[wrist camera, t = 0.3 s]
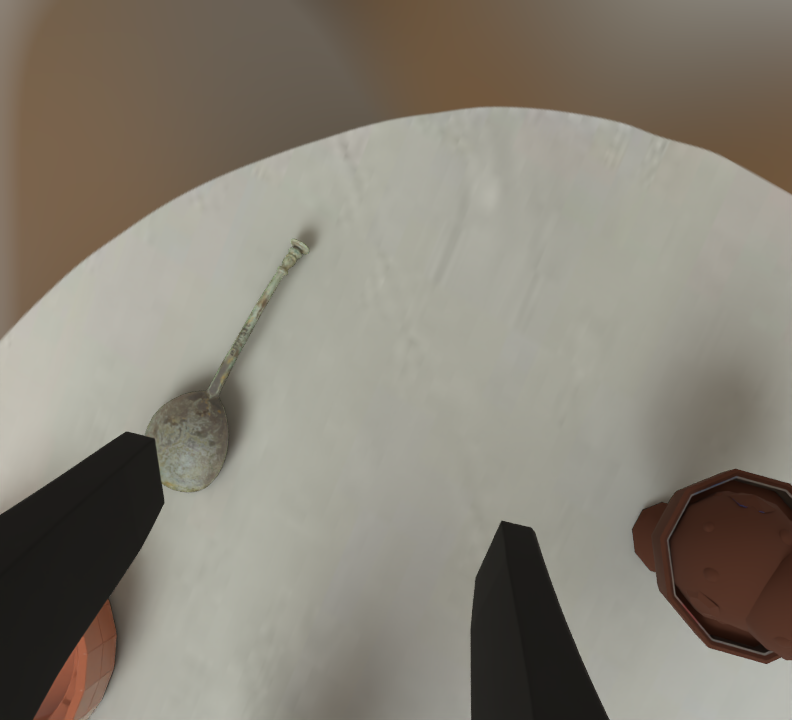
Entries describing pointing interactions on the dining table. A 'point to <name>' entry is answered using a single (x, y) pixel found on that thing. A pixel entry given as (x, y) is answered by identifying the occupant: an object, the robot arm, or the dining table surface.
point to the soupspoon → (205, 412)
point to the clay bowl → (83, 673)
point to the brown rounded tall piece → (726, 561)
